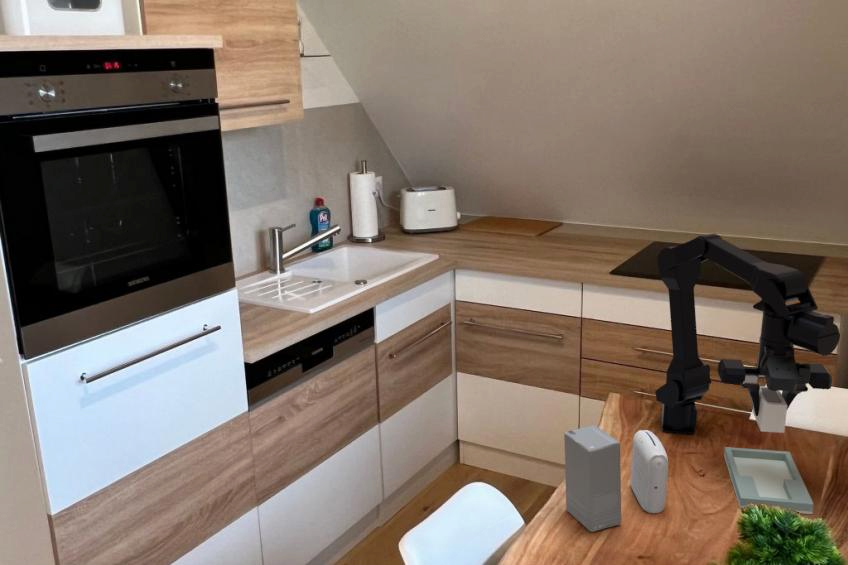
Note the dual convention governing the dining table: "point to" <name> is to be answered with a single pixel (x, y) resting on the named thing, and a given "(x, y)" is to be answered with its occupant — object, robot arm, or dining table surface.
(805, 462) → the dining table surface
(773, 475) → the keyhole tray
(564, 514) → the dining table surface
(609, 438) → the skincare box
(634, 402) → the dining table surface
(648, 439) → the photo printer
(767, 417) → the socket block
